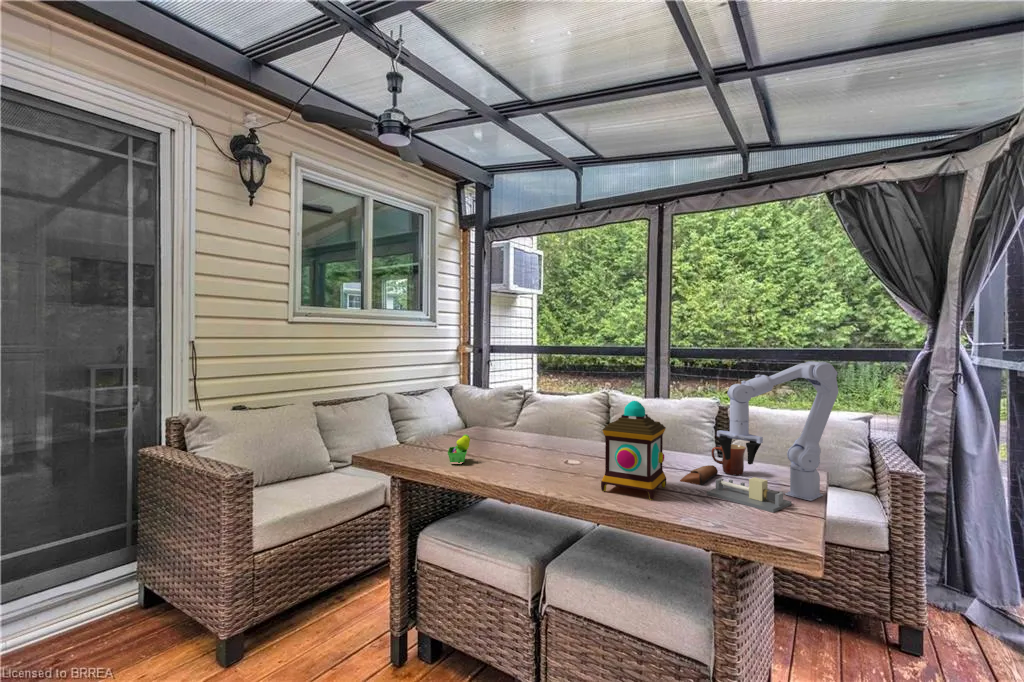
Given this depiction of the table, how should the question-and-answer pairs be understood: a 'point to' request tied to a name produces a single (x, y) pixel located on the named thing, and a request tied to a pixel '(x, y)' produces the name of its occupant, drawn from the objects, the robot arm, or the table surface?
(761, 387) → the robot arm
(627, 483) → the decorative lantern
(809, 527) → the table surface
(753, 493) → the cream block on rod
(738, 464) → the mug
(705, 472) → the sunglasses case
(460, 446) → the fruit basket
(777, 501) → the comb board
